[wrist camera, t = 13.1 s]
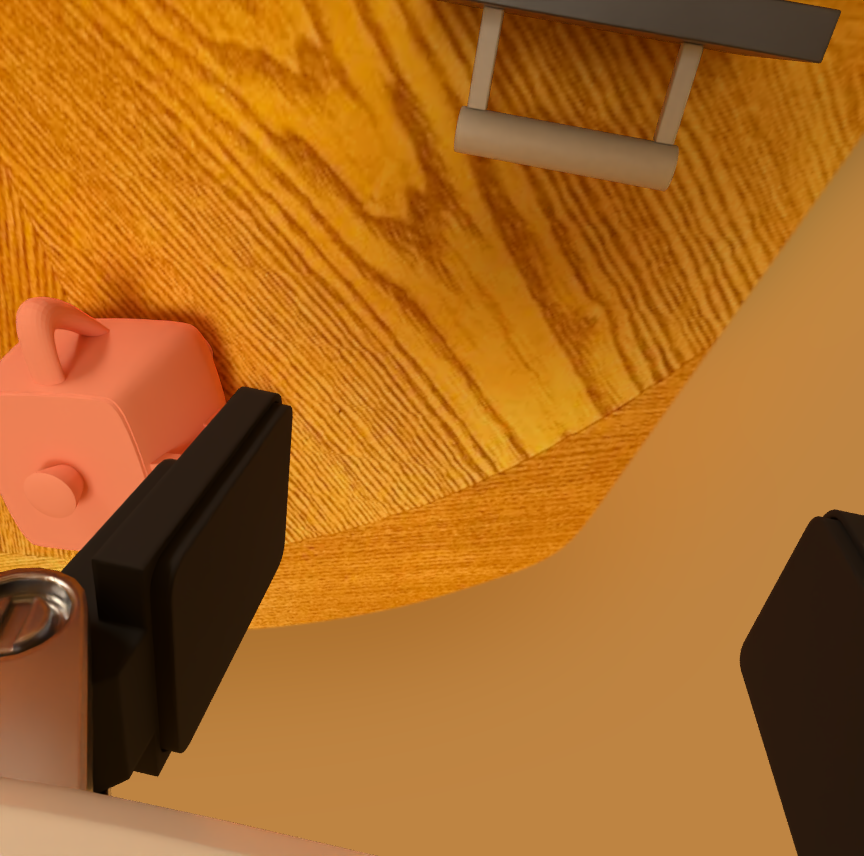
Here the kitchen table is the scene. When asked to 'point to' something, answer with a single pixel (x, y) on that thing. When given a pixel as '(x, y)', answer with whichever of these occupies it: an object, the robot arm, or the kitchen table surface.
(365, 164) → the kitchen table surface
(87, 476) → the teapot
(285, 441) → the robot arm
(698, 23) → the drawer
